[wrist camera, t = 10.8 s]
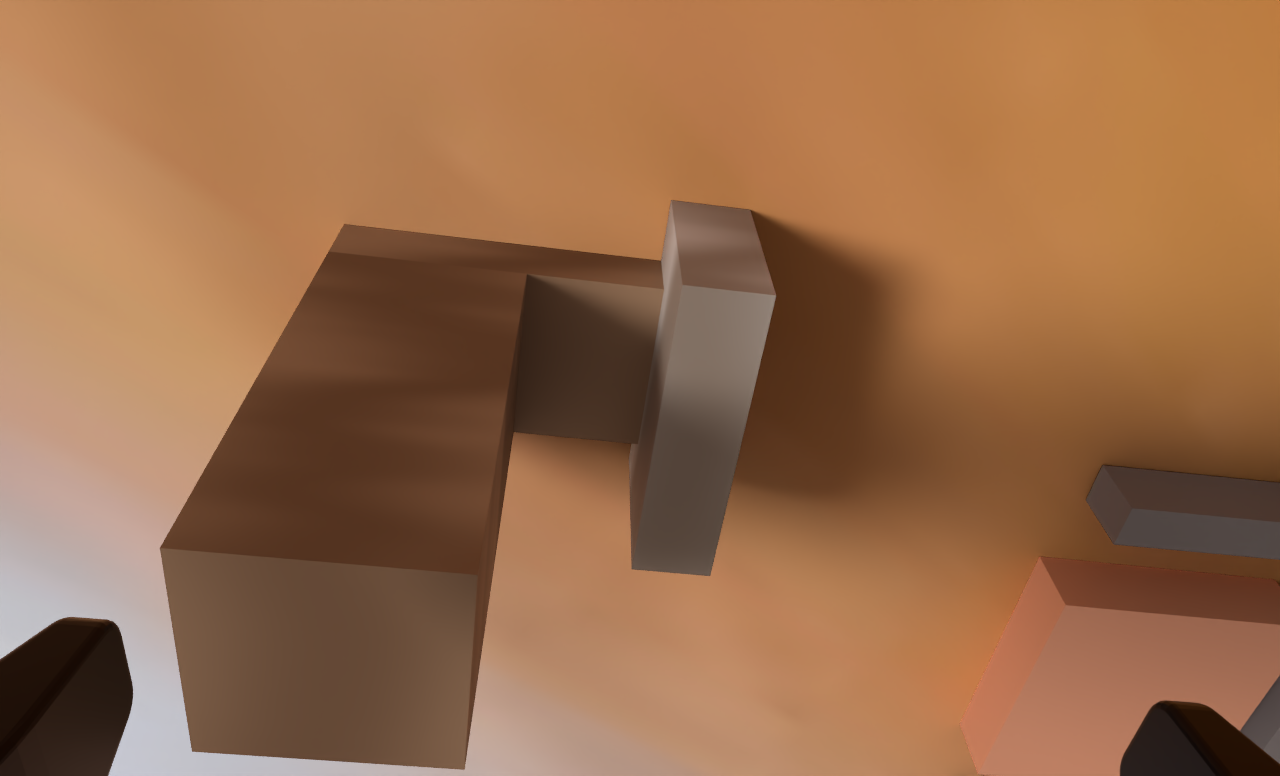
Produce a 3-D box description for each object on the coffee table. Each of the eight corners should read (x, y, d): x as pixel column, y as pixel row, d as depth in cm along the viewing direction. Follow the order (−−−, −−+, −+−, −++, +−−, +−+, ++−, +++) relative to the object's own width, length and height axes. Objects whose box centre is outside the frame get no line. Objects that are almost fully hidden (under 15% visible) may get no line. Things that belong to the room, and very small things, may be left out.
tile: (1264, 567, 24) (1312, 628, 23) (1161, 727, 28) (1197, 790, 26) (1032, 544, 24) (1065, 605, 22) (955, 710, 27) (977, 774, 25)
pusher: (750, 209, 19) (845, 522, 11) (696, 464, 22) (742, 843, 14) (342, 160, 18) (146, 458, 10) (349, 431, 21) (201, 810, 14)
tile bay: (1413, 496, 23) (1460, 539, 21) (1188, 816, 29) (1215, 864, 28) (1102, 465, 22) (1132, 508, 21) (942, 800, 28) (957, 849, 27)
